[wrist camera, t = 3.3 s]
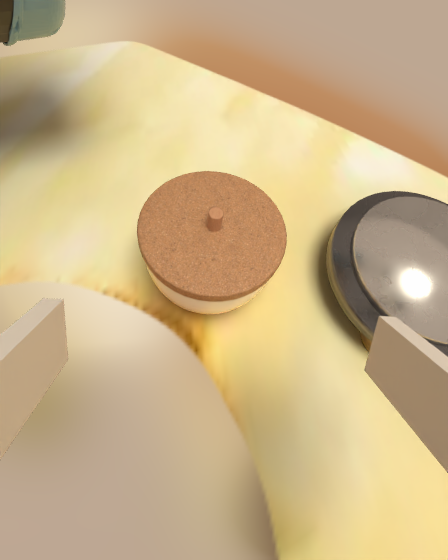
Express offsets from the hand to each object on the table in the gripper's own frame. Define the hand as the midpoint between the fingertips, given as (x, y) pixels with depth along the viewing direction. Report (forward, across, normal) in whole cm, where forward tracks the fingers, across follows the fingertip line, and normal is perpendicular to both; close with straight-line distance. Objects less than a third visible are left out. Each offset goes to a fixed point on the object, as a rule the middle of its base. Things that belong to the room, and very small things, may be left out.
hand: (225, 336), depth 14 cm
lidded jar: (+17, 0, -3) cm, 17 cm away
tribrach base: (+16, +19, -3) cm, 25 cm away
